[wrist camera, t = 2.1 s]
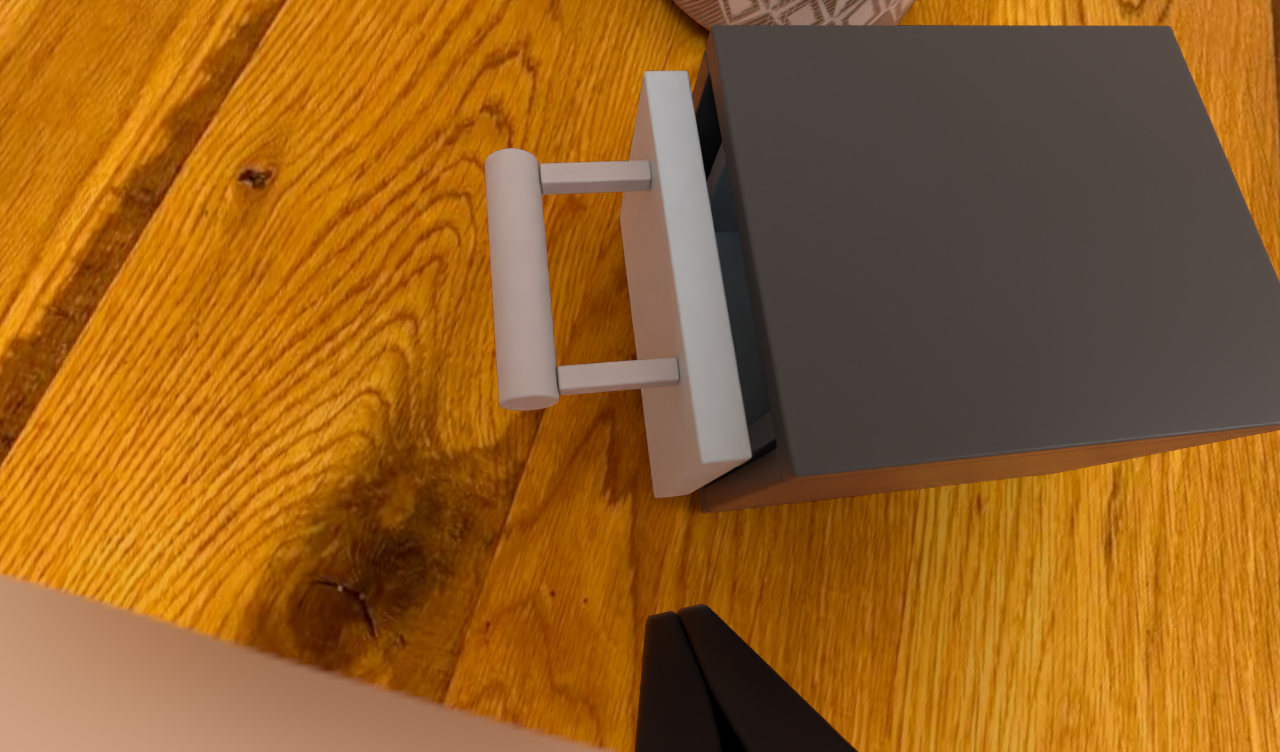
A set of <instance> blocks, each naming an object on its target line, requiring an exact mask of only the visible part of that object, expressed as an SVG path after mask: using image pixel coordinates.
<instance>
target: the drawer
mask: <svg viewBox="0 0 1280 752" xmlns="http://www.w3.org/2000/svg"><path fill="white" fill-rule="evenodd" d="M539 168H540V170H539ZM485 181H486V197H487V214H488V230H489V247H490V264H491V280H492V297H493V313H494V330H495V347H496V363H497V380H498V396H499V404H500V406H501V407H502V408H505V409H509V410H520V411H523V410H536V409H542V408H546V407H549V406H552V405H554V404H556V403H557V402H558V401H559V394H560V395H572V394H584V393H596V392H608V391H620V390H632V389H641V395H642V403H643V411H644V419H645V427H646V435H647V443H648V452H649V460H650V468H651V476H652V484H653V492H654V497H655V498H664V497H673V496H682V495H688V494H690V493H692V492H694V491H695V490H697V489H699V488H701V487H702V486H704V485H706V484H708V483H709V482H711V481H713V480H714V479H716V478H718V477H720V476H721V475H723V474H725V473H727V472H728V471H730V470H732V469H734V468H735V467H742V466H745V465H747V464H748V463H750V462H752V461H754V460H756V459H757V458H759V457H761V456H763V455H765V454H766V453H768V452H770V451H772V450H774V449H775V448H777V444H776V439H775V433H774V428H773V422H772V416H771V411H770V405H769V400H768V394H767V389H766V383H765V377H764V372H763V366H762V361H761V355H760V349H759V344H758V338H757V333H756V327H755V321H754V316H753V310H752V305H751V299H750V294H749V288H748V282H747V277H746V271H745V266H744V260H743V254H742V249H741V243H740V238H739V232H738V227H737V221H736V215H735V210H734V204H733V199H732V193H731V187H730V182H729V176H728V171H727V165H726V159H725V154H724V148H723V143H721V146H720V148H719V151H718V154H717V156H716V159H715V162H714V164H713V167H712V169H711V172H710V175H709V177H708V180H707V182H706V176H705V170H704V164H703V159H702V153H701V147H700V141H699V135H698V129H697V123H696V117H695V111H694V105H693V99H692V93H691V87H690V81H689V75H688V72H687V71H646V72H645V73H644V76H643V82H642V88H641V94H640V100H639V106H638V111H637V117H636V123H635V129H634V135H633V141H632V146H631V152H630V158H629V161H607V162H574V163H542V164H540V166H539V162H538V160H537V159H536V157H535V156H534V155H533V154H531V153H530V152H528V151H525V150H522V149H516V148H506V149H501V150H498V151H495V152H493V153H492V154H490V155H489V156H488V157H487V159H486V161H485ZM601 192H624V193H623V199H622V205H621V211H620V225H621V233H622V241H623V249H624V257H625V265H626V273H627V281H628V289H629V298H630V306H631V314H632V322H633V330H634V338H635V346H636V354H637V360H630V361H617V362H604V363H591V364H578V365H565V366H559V367H558V368H557V365H556V353H555V342H554V330H553V319H552V307H551V296H550V284H549V273H548V262H547V250H546V239H545V227H544V216H543V204H542V194H543V195H548V194H575V193H601Z"/></svg>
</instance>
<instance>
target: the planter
mask: <svg viewBox="0 0 1280 752" xmlns="http://www.w3.org/2000/svg"><path fill="white" fill-rule="evenodd" d="M673 1H674V2H675V3H676V4H677V5H678V7H679V8H680V9H682V10H683V11H684V12H685V13H686V14H687V15H688V16H689V17H691V18H692V19H693V20H694V21H696V22H697V23H698V24H700V25H701V26H703V27H704V28H706V29H707V30H709V31H710V30H711V27H712V26H713V25H897V24H898V23H899V22H900V21H901V20H902V18H903V17H904V16H905V15H906V13H907V12H908V10H909V9H910V7H911V5H912V4H913V2H914V1H915V0H673Z"/></svg>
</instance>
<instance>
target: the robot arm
mask: <svg viewBox="0 0 1280 752" xmlns="http://www.w3.org/2000/svg"><path fill="white" fill-rule="evenodd" d="M635 752H858V751H857V750H856V749H855V748H854V747H853V746H852V745H851V744H850V743H848V742H847V741H846V740H845V739H844V738H843V737H842V736H841V735H840V734H839V733H838V732H837V731H836V730H835V729H834V728H833V727H832V726H831V725H830V724H829V723H828V722H827V721H826V720H825V719H824V718H823V717H822V716H821V715H820V714H819V713H818V712H817V711H816V710H814V709H813V708H812V707H811V706H810V705H809V704H808V703H807V702H806V701H805V700H804V699H803V698H802V697H801V696H800V695H799V694H798V693H797V692H796V691H795V690H794V689H793V688H792V687H791V686H790V685H789V684H788V683H787V682H786V681H785V680H784V679H783V678H781V677H780V676H779V675H778V674H777V673H776V672H775V671H774V670H773V669H772V668H771V667H770V666H769V665H768V664H767V663H766V662H765V661H764V660H763V659H762V658H761V657H760V656H759V655H758V654H757V653H756V652H755V651H754V650H753V649H752V648H751V647H750V646H749V645H747V644H746V643H745V642H744V641H743V640H742V639H741V638H740V637H739V636H738V635H737V634H736V633H735V632H734V631H733V630H732V629H731V628H730V627H729V626H728V625H727V624H726V623H725V622H724V621H723V620H722V619H721V618H720V617H719V616H718V615H717V614H716V613H715V612H713V611H712V610H711V609H710V608H709V607H708V606H706V605H704V604H699V605H694V606H690V607H686V608H681V609H679V610H678V611H677V614H676V613H675V612H673V611H668V612H664V613H660V614H655V615H651V616H649V617H648V618H647V620H646V626H645V637H644V649H643V660H642V672H641V684H640V695H639V707H638V718H637V730H636V742H635Z"/></svg>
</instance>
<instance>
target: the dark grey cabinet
mask: <svg viewBox="0 0 1280 752" xmlns="http://www.w3.org/2000/svg"><path fill="white" fill-rule="evenodd" d="M692 99H693V105H694V111H695V117H696V123H697V129H698V135H699V141H700V147H701V153H702V159H703V164H704V170H705V176H706V182H707V180H708V177H709V175H710V172H711V169H712V167H713V164H714V162H715V159H716V156H717V154H718V151H719V148H720V146H721V143H723V148H724V154H725V159H726V165H727V171H728V176H729V182H730V187H731V193H732V199H733V204H734V210H735V215H736V221H737V227H738V232H739V238H740V243H741V249H742V254H743V260H744V266H745V271H746V277H747V282H748V288H749V294H750V299H751V305H752V310H753V316H754V321H755V327H756V333H757V338H758V344H759V349H760V355H761V361H762V366H763V372H764V377H765V383H766V389H767V394H768V400H769V405H770V411H771V416H772V422H773V428H774V433H775V439H776V444H777V448H775V449H774V450H772V451H770V452H768V453H766V454H765V455H763V456H761V457H759V458H757V459H756V460H754V461H752V462H750V463H748V464H747V465H745V466H742V467H735V468H734V469H732V470H730V471H728V472H727V473H725V474H723V475H721V476H720V477H718V478H716V479H714V480H713V481H711V482H709V483H708V484H706V485H704V486H702V487H701V488H699V496H700V503H701V510H702V513H713V512H721V511H730V510H739V509H747V508H756V507H765V506H774V505H782V504H791V503H800V502H808V501H817V500H826V499H835V498H843V497H852V496H861V495H869V494H878V493H887V492H896V491H904V490H913V489H922V488H930V487H939V486H948V485H957V484H965V483H974V482H983V481H991V480H1000V479H1009V478H1018V477H1026V476H1035V475H1044V474H1052V473H1059V472H1064V471H1069V470H1075V469H1080V468H1085V467H1090V466H1095V465H1100V464H1106V463H1111V462H1116V461H1121V460H1126V459H1132V458H1137V457H1142V456H1147V455H1152V454H1157V453H1163V452H1168V451H1173V450H1178V449H1183V448H1188V447H1194V446H1199V445H1204V444H1209V443H1214V442H1219V441H1225V440H1230V439H1235V438H1240V437H1245V436H1250V435H1256V434H1261V433H1266V432H1271V431H1276V430H1280V282H1279V280H1278V278H1277V275H1276V273H1275V271H1274V268H1273V266H1272V264H1271V261H1270V259H1269V257H1268V254H1267V252H1266V250H1265V247H1264V245H1263V242H1262V240H1261V238H1260V235H1259V233H1258V231H1257V228H1256V226H1255V224H1254V221H1253V219H1252V217H1251V214H1250V212H1249V210H1248V207H1247V205H1246V203H1245V200H1244V198H1243V196H1242V193H1241V191H1240V188H1239V186H1238V184H1237V181H1236V179H1235V177H1234V174H1233V172H1232V170H1231V167H1230V165H1229V163H1228V160H1227V158H1226V156H1225V153H1224V151H1223V149H1222V146H1221V144H1220V141H1219V139H1218V137H1217V134H1216V132H1215V130H1214V127H1213V125H1212V123H1211V120H1210V118H1209V116H1208V113H1207V111H1206V109H1205V106H1204V104H1203V102H1202V99H1201V97H1200V95H1199V92H1198V90H1197V87H1196V85H1195V83H1194V80H1193V78H1192V76H1191V73H1190V71H1189V69H1188V66H1187V64H1186V62H1185V59H1184V57H1183V55H1182V52H1181V50H1180V48H1179V45H1178V43H1177V41H1176V38H1175V36H1174V33H1173V31H1172V29H1171V27H1170V26H953V25H713V26H712V27H711V30H710V34H709V37H708V41H707V45H706V50H705V52H704V55H703V59H702V62H701V66H700V69H699V73H698V77H697V80H696V84H695V87H694V91H693V94H692Z"/></svg>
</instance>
